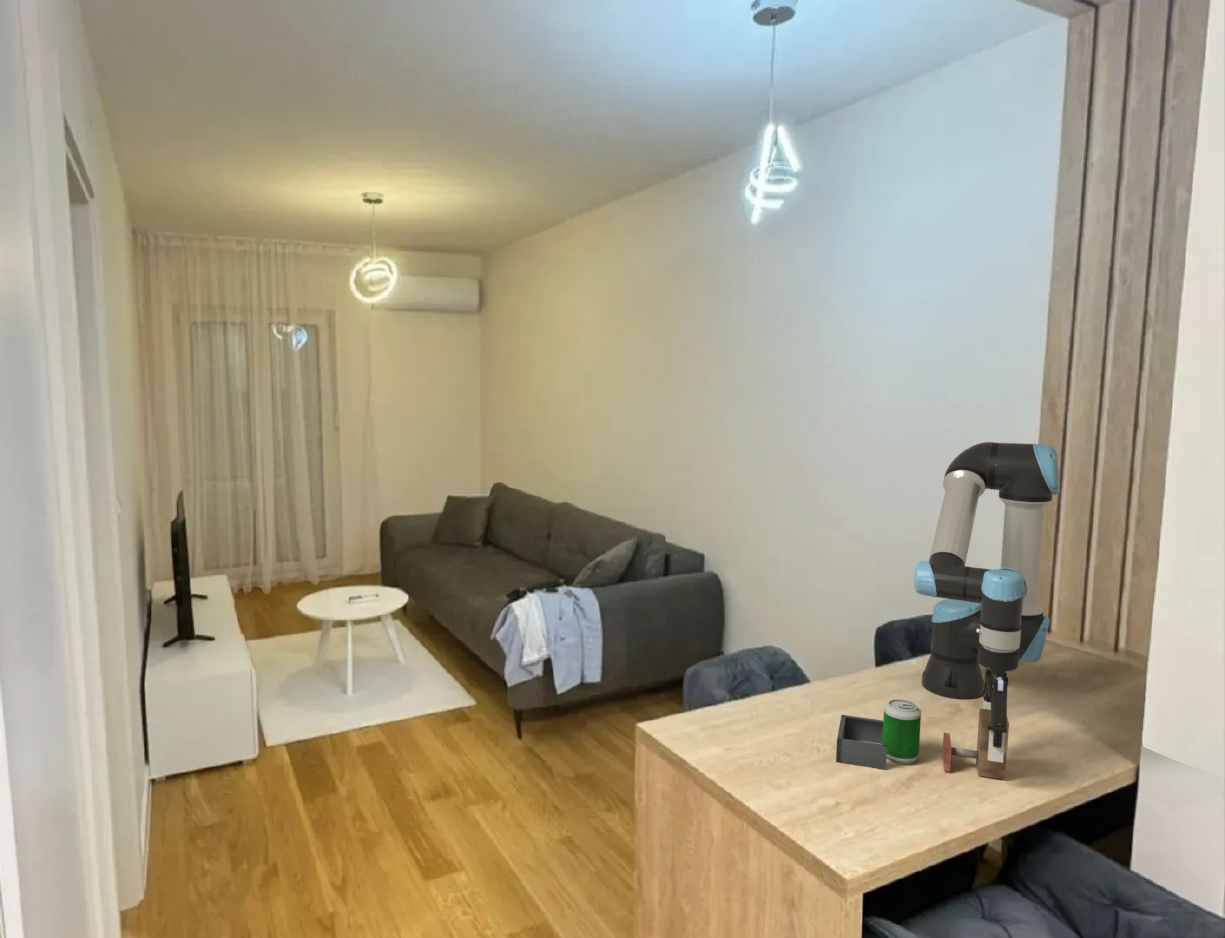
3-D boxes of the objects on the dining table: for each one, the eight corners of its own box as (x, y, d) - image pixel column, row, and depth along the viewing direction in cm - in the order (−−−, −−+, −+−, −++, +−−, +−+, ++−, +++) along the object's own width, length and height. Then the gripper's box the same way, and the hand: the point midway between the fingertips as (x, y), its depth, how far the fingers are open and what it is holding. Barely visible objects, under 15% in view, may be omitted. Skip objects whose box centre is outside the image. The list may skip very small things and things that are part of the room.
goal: (887, 742, 181) (888, 721, 181) (886, 770, 169) (887, 747, 169) (840, 735, 185) (841, 714, 184) (836, 762, 173) (836, 739, 172)
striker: (1001, 764, 171) (1005, 710, 169) (1005, 781, 164) (1009, 724, 163) (942, 755, 175) (945, 702, 173) (943, 771, 168) (947, 716, 167)
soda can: (921, 768, 170) (924, 713, 168) (883, 764, 172) (886, 710, 170) (915, 751, 177) (918, 699, 176) (879, 748, 179) (882, 696, 177)
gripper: (973, 626, 178) (967, 718, 180) (984, 665, 154) (976, 770, 157) (1011, 630, 175) (1004, 724, 178) (1027, 670, 152) (1019, 777, 154)
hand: (991, 746), depth 167 cm, fingers open, 13 cm apart
